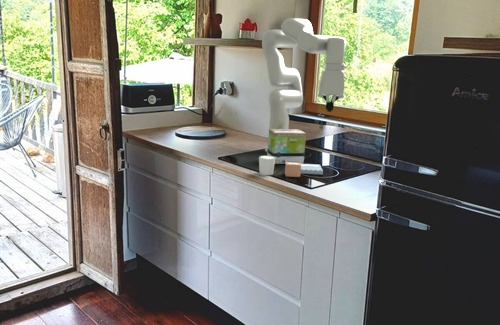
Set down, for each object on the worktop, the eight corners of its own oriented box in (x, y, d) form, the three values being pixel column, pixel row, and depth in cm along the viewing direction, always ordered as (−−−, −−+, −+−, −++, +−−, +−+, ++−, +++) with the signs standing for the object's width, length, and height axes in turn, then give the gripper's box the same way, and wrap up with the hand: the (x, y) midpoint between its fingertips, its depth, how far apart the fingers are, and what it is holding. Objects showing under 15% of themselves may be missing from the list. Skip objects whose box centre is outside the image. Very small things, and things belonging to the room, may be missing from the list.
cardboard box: (285, 172, 195) (285, 161, 193) (299, 173, 195) (300, 162, 193) (285, 176, 190) (286, 164, 189) (300, 176, 190) (301, 164, 188)
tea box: (273, 164, 207) (275, 132, 204) (266, 159, 217) (268, 128, 213) (304, 164, 211) (306, 132, 208) (296, 158, 221) (298, 128, 217)
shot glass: (264, 176, 188) (265, 159, 186) (254, 172, 194) (255, 156, 192) (277, 174, 192) (278, 158, 190) (267, 170, 198) (268, 154, 196)
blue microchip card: (288, 166, 206) (288, 162, 205) (319, 167, 206) (319, 164, 205) (289, 172, 195) (289, 169, 195) (322, 174, 195) (323, 170, 195)
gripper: (350, 68, 194) (345, 111, 199) (314, 65, 195) (310, 108, 200) (353, 69, 187) (348, 114, 192) (316, 67, 187) (312, 111, 192)
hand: (329, 111), depth 196 cm, fingers closed
